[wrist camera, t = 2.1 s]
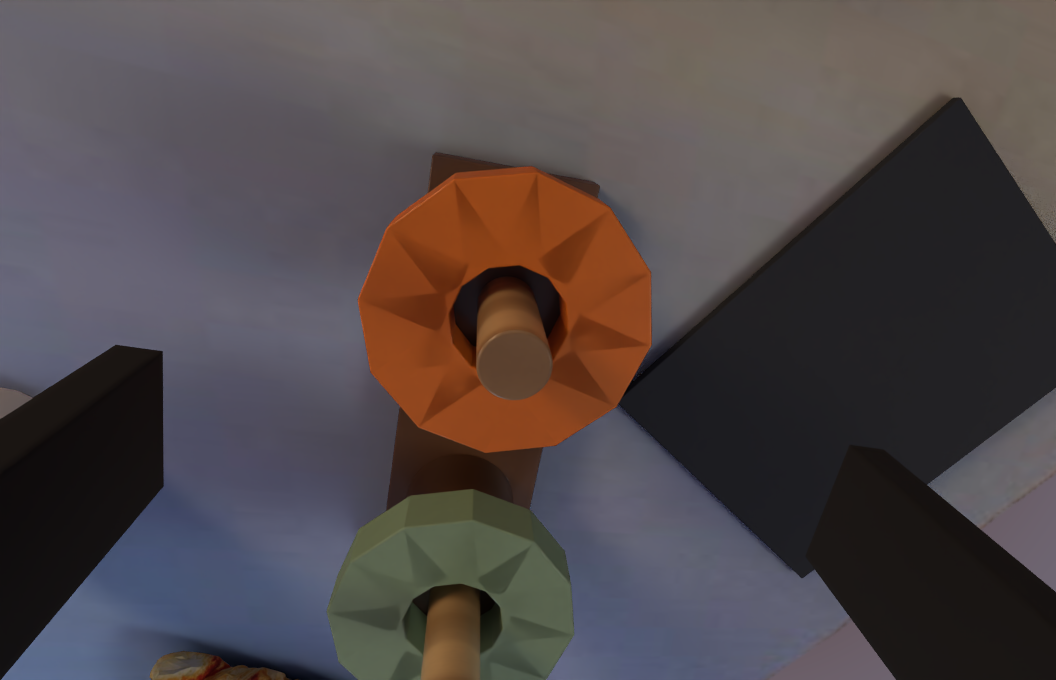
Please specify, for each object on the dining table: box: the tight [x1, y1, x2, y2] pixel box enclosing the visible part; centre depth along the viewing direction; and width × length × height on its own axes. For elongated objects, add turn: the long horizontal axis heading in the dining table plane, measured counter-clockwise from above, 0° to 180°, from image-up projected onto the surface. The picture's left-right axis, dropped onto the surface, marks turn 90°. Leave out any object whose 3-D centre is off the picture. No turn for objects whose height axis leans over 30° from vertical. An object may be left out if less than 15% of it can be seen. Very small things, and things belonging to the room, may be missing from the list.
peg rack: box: [386, 152, 600, 680], centre depth 24 cm, size 20×7×13 cm, turn 169°
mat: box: [618, 98, 1056, 578], centre depth 31 cm, size 20×16×1 cm
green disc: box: [327, 489, 574, 680], centre depth 24 cm, size 9×9×2 cm
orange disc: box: [358, 166, 652, 453], centre depth 20 cm, size 9×9×2 cm
